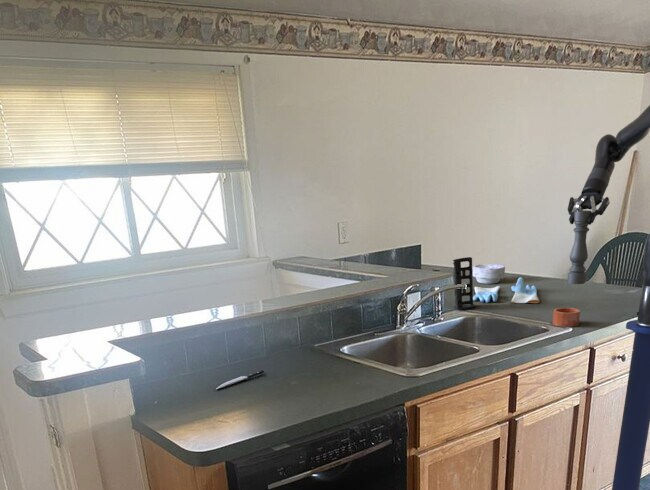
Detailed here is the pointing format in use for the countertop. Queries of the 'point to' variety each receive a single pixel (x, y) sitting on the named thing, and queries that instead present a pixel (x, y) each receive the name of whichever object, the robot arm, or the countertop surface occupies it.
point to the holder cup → (566, 317)
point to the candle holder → (579, 248)
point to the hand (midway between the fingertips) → (580, 222)
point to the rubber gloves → (520, 291)
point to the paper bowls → (488, 273)
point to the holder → (458, 281)
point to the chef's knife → (239, 379)
